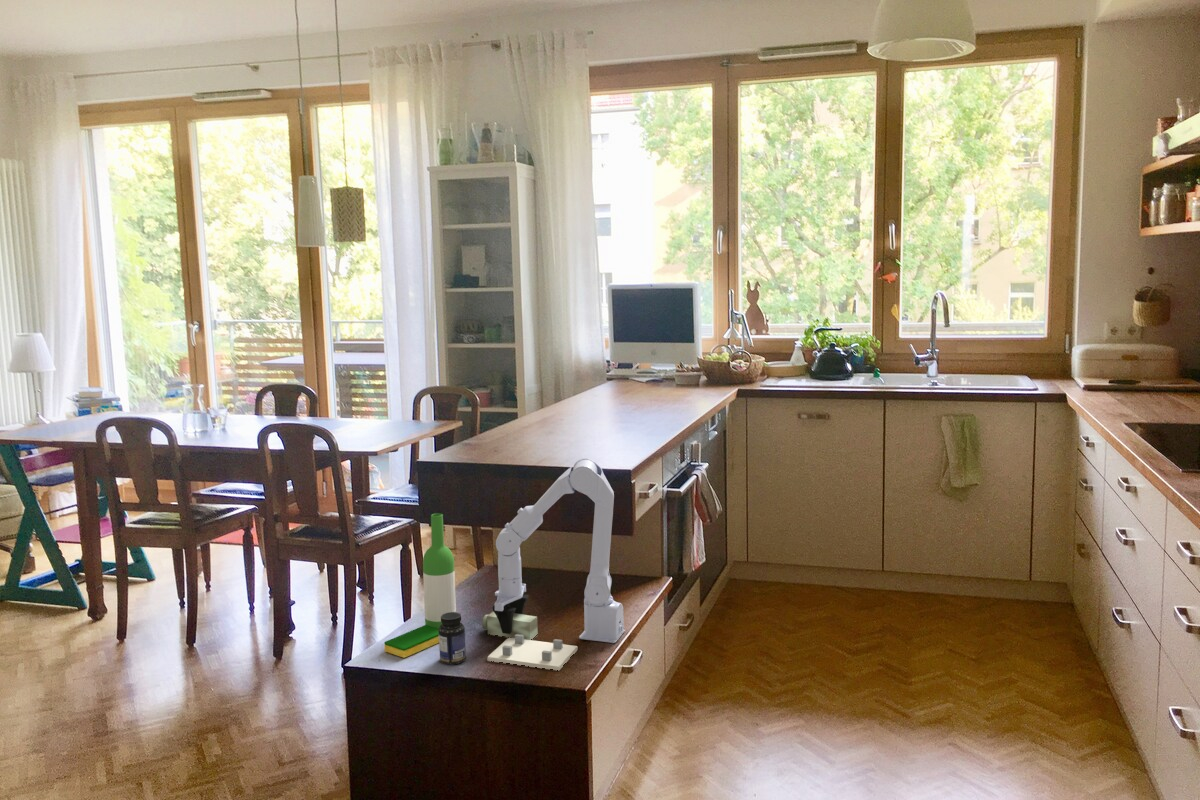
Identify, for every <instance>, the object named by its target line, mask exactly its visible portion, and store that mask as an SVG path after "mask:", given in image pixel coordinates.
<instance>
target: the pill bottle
mask: <svg viewBox="0 0 1200 800" xmlns="http://www.w3.org/2000/svg"><path fill="white" fill-rule="evenodd" d="M461 621H462V614H461V613H459V612H457V611H456V612H448V613H445V614H443V615H441V622H442V625H440V627H439V629H438V631H439V643H438V645H439V646H438V648H439V661H440V662H441V663H442V664H443V665H450V666H451V665H458V664H462V663H463V662H465V661H466V659H467V649H466V631H465V630H466V629H465V628H466V627H465V625H464V624H463V623H462V622H461Z"/></svg>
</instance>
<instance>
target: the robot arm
mask: <svg viewBox="0 0 1200 800" xmlns="http://www.w3.org/2000/svg"><path fill="white" fill-rule="evenodd" d="M575 491H577V492H578V493H580V494H584V495H586V496H587V498H589V499H590V500H592V502H593V503H594V515H593V528H592V540H591V541H592V542H591V554H590V555H591V556H590V568H589V569H590V570H589V574H588V575H587V578H586V585H585V588H584V595H583V596H584V598H583V608H584V609H583V610H584V612H583V613H584V614H583V618H584V619H583V621H584V623H583V624H584V631H583V632H582V633H580V635H579V636H578V639H579V640H587V641H593V642H594V641H595V642H603V643H610V644H614V643H616V642H618V640H619V639H620V638H621V636H622V635H623V634H624V633H625V629H624V627H625V626H624V622H625V621H624V618H625V617H624V613H625V612H624V606H623V603H621V602H618V601H615V600H614V597H613V596H612V594H611V587H612V584H613V583H612V582H613V581H612V580H613V579H612V577H611V575H610V570H609V569H610V556H611V555H610V553H611V543H612V531H613V530H612V527H613V517H614V502H615V501H614V500H615V494H614V493H615V491H614V490H613V488H612V487H611V484H610V482H609V481H608V479H607V477H606V475H605V474H604V470H603V468H602V466H600V465H599V464H597V462H595V461H594V460H593V459H591V458H581V459H579V460H577V461H576V462H575V463H574V465H573V467H572V466H570V467H568V469H566V470H565V471H564V472H563V473H562V474H561V475H560V476H559V477H558V478H557V479H556V480H555V481H554V482H553V483H552V485H550V487H548V489H547V490H546V491H545V493H543V495H542V496H541V497H540V498H539V499H538V500H537V502H536V503H535V504H533V505H526V506H525V507H523V508H522V507H520V508H519V509H518V510H517V515H516V516H515V517H514V518H513V519H512V520H511V521H510V522H507V523H506V524H504V528H502V529H501V531H500V532H499V534H498V535H497V538H496V540H495V547H496V551H497V555H498V557H497V571H498V572H497V575H498V577H497V578H498V590H496V591H495V592H494V596H495V597H496V598H497V599H496V601H495V602H494V605H493V606H492V612H493V611H494V613H495V614H496V616H497V618H498V620H499V623H500V626H501V630H502V633H506V634H510V633H511V631H512V621H513V616H514V613H516V614H523V615H524V611H525V608H526V604H527V602H528V600H529V596H530V595H528V594H524V593H526V592H527V584H526V583H523V579H522V577H523V576H522V557H521V547H520V546H521V545H522V542H525V541H527V540H528V538H529V537H530V536H531V535H532V534H533V533H534V532H535V531H536V530H537V529H538V528H539V527H540V526H541V525H542V524H543V522H544V519H543V518H544V517H543V516H544V514H545V513H546V512H547V511H548V510H549V509H550V508H552V506H553V505H555V503H556V502H557V501H558V500H559V499H560V498H562V497H563V496H564V495H566V494H567V495H568V494H570V495H571V494H574V493H575Z"/></svg>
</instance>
